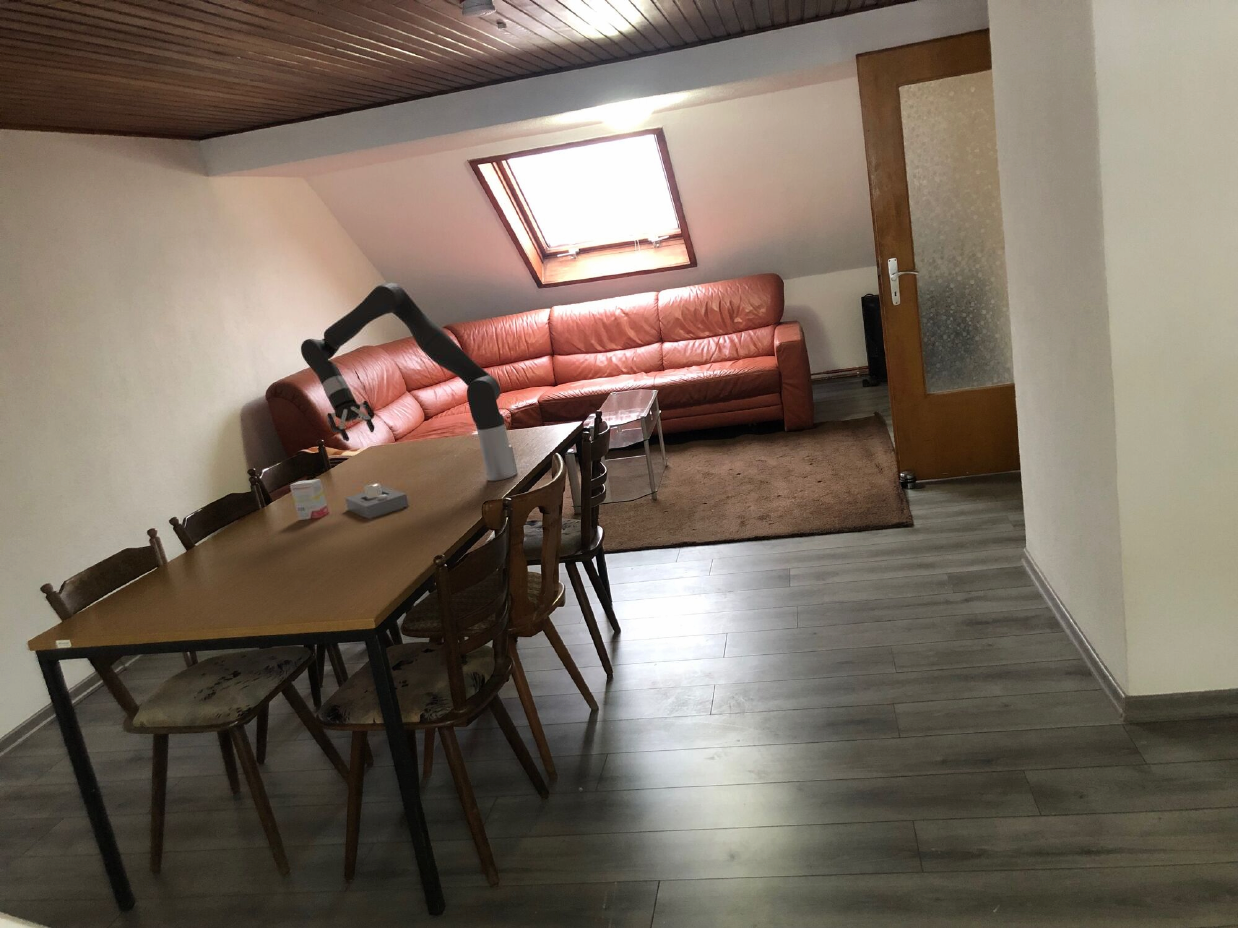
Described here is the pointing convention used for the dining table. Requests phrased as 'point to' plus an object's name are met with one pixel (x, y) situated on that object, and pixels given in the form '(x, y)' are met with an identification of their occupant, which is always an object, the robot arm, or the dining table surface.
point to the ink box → (309, 499)
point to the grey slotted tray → (377, 503)
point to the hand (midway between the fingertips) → (360, 435)
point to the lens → (372, 491)
